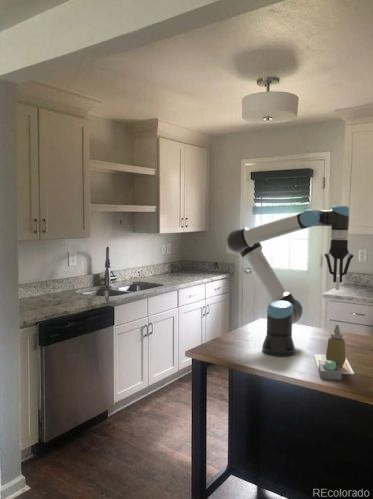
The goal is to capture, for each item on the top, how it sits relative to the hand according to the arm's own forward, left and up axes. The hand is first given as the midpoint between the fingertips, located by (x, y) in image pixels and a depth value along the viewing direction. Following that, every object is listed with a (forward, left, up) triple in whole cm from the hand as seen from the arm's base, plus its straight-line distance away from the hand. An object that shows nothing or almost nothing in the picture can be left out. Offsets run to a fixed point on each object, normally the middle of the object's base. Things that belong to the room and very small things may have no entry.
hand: (337, 289), depth 198 cm
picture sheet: (-3, -17, -30) cm, 35 cm away
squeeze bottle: (-3, -21, -30) cm, 37 cm away
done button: (-6, -30, -30) cm, 43 cm away
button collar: (-6, -30, -30) cm, 44 cm away
